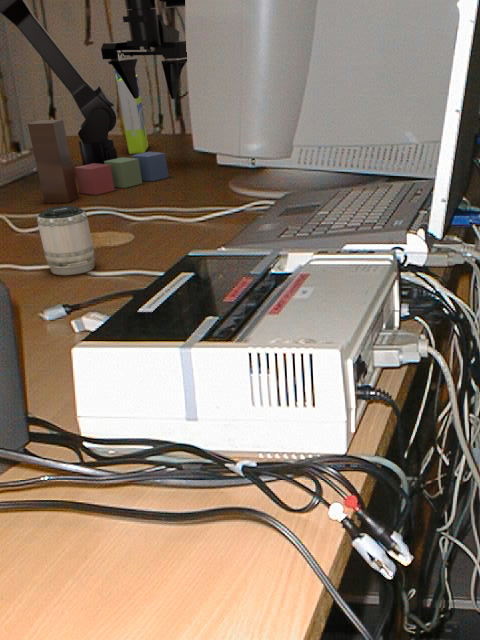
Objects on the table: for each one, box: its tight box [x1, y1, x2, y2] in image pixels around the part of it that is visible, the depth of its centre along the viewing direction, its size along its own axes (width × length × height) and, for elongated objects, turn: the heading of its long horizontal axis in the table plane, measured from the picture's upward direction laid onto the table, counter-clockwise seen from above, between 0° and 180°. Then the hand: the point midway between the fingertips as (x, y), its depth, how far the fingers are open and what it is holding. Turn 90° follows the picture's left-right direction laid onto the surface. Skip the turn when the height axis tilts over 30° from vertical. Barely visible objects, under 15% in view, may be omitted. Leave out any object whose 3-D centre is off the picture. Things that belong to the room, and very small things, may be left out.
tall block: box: [27, 119, 79, 204], centre depth 158 cm, size 5×4×13 cm
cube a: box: [131, 151, 170, 182], centre depth 175 cm, size 4×4×4 cm
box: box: [113, 68, 149, 155], centre depth 203 cm, size 10×4×17 cm, turn 8°
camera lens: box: [36, 205, 96, 276], centre depth 119 cm, size 6×6×8 cm
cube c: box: [74, 163, 115, 196], centre depth 166 cm, size 4×4×4 cm
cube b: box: [104, 156, 143, 189], centre depth 171 cm, size 4×4×4 cm
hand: (154, 98), depth 180 cm, fingers open, 9 cm apart
